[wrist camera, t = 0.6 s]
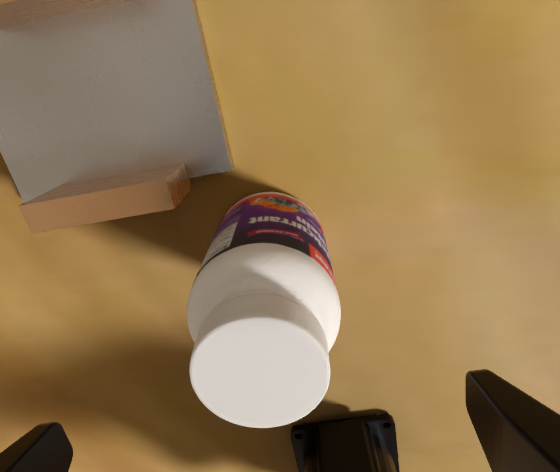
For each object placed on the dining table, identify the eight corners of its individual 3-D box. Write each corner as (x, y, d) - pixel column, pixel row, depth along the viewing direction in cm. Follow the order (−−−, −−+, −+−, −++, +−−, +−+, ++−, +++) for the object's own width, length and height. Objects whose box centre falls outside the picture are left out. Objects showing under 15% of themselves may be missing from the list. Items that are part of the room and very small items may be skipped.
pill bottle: (344, 225, 19) (397, 356, 10) (286, 302, 21) (287, 470, 12) (252, 167, 18) (222, 257, 9) (198, 253, 20) (129, 398, 11)
